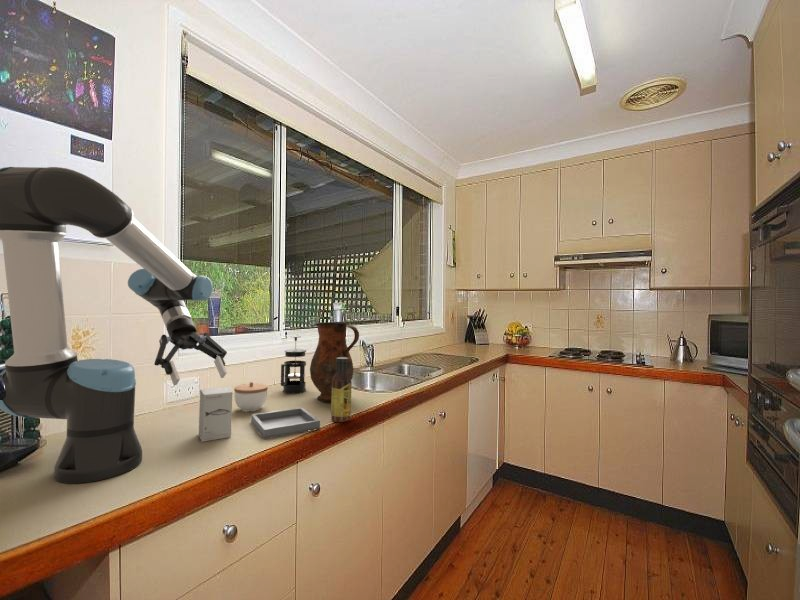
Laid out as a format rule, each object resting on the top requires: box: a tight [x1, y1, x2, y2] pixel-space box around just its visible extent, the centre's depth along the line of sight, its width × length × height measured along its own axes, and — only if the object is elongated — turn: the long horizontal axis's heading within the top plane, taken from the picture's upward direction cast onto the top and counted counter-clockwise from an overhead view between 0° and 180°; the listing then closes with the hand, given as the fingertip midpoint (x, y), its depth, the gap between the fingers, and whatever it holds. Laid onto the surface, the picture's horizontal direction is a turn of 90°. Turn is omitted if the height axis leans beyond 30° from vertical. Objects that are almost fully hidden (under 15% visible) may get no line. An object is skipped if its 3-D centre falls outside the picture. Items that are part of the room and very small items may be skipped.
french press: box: [280, 335, 307, 394], centre depth 157 cm, size 12×9×23 cm
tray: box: [250, 407, 321, 440], centre depth 113 cm, size 16×16×2 cm
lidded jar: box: [233, 381, 269, 413], centre depth 130 cm, size 11×11×9 cm
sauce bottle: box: [330, 357, 352, 423], centre depth 120 cm, size 7×6×20 cm
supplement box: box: [198, 386, 233, 443], centre depth 104 cm, size 7×7×13 cm
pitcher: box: [309, 321, 360, 404], centre depth 144 cm, size 17×21×30 cm
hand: (201, 378), depth 110 cm, fingers open, 13 cm apart
